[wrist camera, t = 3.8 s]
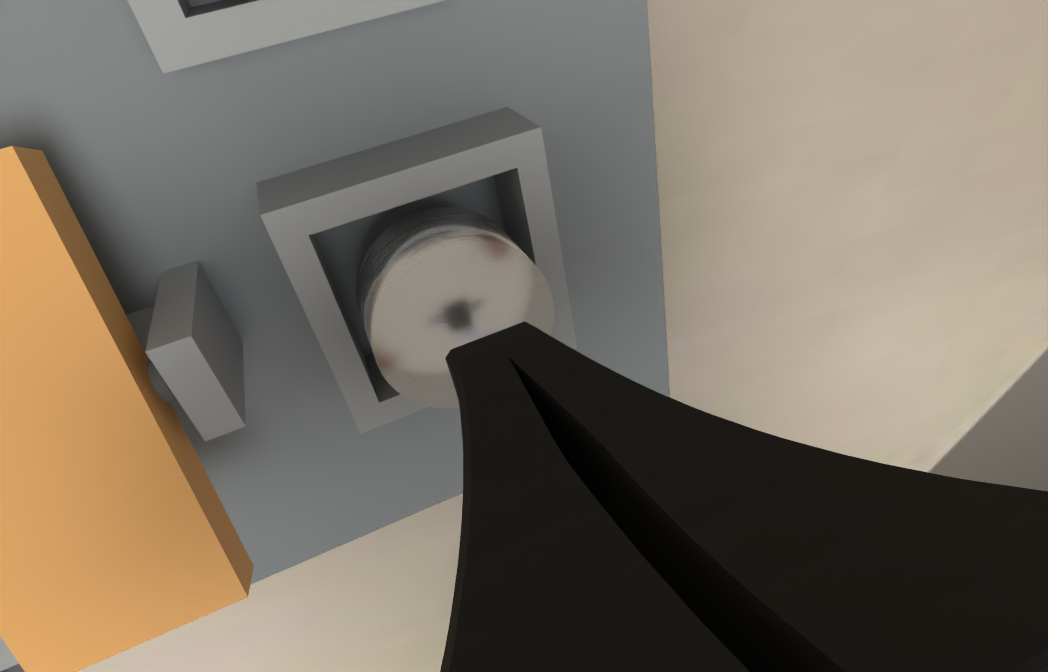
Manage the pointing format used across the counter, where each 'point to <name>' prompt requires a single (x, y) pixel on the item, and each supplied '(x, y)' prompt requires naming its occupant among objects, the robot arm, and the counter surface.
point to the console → (336, 213)
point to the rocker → (91, 455)
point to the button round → (443, 296)
